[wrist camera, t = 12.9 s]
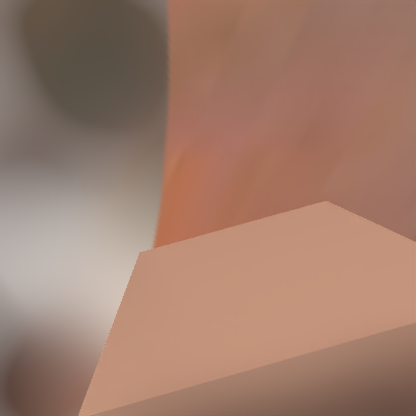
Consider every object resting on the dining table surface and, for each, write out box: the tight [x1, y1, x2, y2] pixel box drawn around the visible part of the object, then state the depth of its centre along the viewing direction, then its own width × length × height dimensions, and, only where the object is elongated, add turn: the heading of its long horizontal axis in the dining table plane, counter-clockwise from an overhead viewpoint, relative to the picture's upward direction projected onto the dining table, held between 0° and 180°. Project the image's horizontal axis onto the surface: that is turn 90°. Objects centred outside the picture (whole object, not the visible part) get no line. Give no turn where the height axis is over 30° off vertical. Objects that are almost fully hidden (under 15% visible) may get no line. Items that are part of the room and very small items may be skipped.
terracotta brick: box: [78, 201, 416, 416], centre depth 7 cm, size 6×6×5 cm
